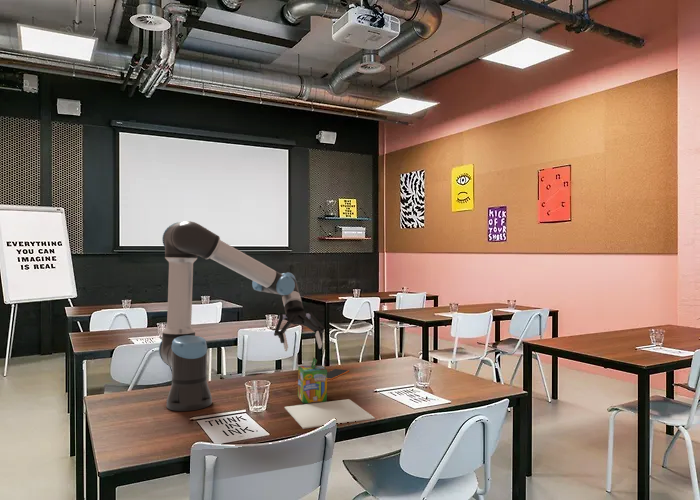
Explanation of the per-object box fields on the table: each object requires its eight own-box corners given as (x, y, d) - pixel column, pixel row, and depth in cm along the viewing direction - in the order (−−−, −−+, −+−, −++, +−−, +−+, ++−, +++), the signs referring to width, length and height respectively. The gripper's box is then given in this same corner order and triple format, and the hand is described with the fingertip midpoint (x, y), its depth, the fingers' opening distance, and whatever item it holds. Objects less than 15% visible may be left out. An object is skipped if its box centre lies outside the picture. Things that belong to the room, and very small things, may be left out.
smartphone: (316, 378, 215) (316, 376, 215) (335, 370, 230) (335, 368, 230) (331, 380, 212) (331, 378, 212) (349, 372, 227) (349, 370, 227)
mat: (303, 428, 154) (303, 427, 154) (284, 407, 174) (284, 406, 174) (374, 418, 163) (374, 417, 163) (349, 400, 183) (349, 399, 183)
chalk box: (297, 397, 187) (297, 357, 187) (321, 395, 190) (321, 355, 190) (302, 404, 178) (302, 362, 178) (327, 402, 181) (327, 360, 181)
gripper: (319, 309, 215) (331, 351, 201) (261, 312, 206) (270, 356, 192) (323, 297, 210) (336, 339, 196) (264, 300, 201) (273, 344, 187)
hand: (303, 348), depth 194 cm, fingers open, 13 cm apart
